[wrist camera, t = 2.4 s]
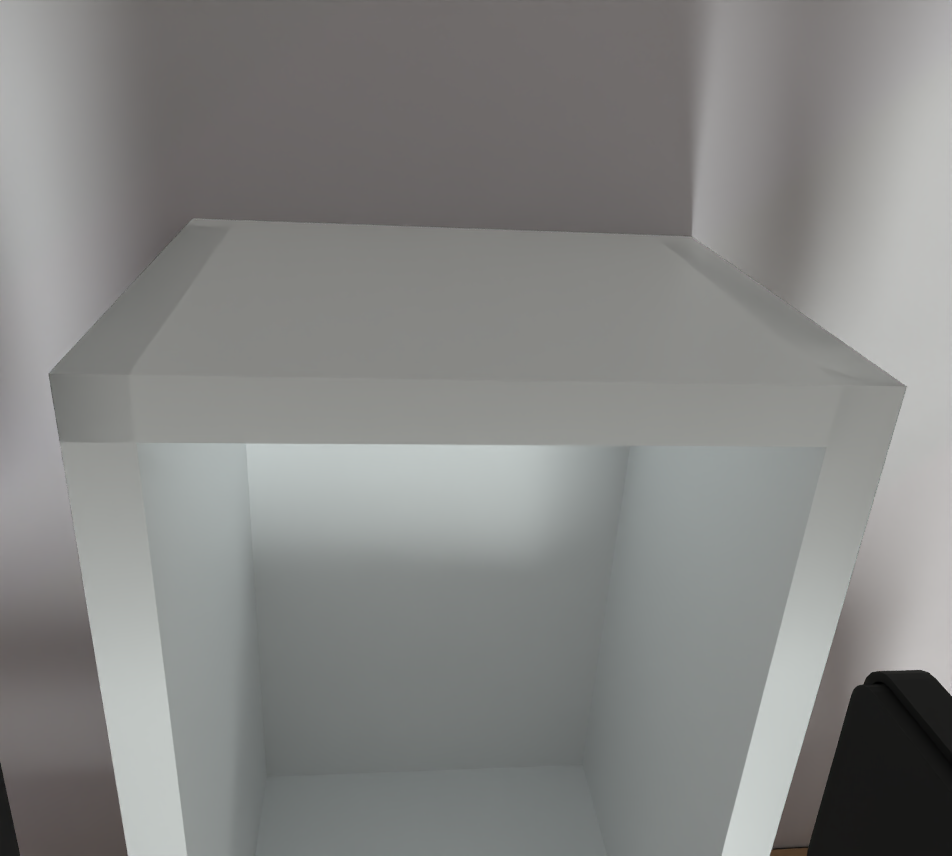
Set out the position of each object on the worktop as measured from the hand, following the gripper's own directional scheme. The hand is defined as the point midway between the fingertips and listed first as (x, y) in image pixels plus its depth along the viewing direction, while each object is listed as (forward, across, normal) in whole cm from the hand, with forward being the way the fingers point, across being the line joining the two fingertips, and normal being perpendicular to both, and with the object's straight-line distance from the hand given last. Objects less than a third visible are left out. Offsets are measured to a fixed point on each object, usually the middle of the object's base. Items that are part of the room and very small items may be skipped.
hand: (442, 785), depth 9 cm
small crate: (+4, 0, -1) cm, 4 cm away
